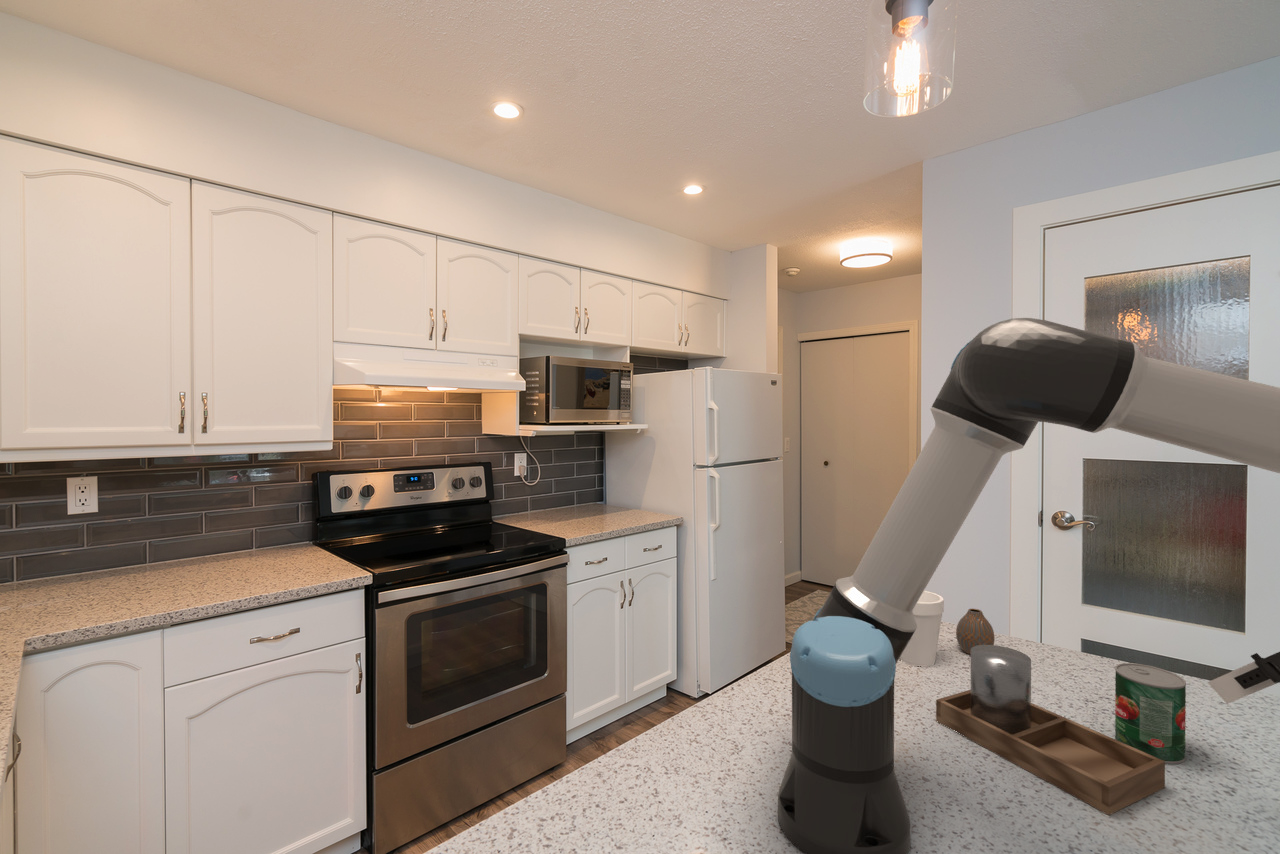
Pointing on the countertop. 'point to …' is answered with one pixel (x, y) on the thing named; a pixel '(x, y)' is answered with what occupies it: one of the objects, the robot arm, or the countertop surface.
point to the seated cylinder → (1001, 687)
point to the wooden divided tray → (1063, 754)
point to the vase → (974, 630)
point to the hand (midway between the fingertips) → (1244, 681)
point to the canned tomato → (1151, 711)
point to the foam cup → (925, 631)
